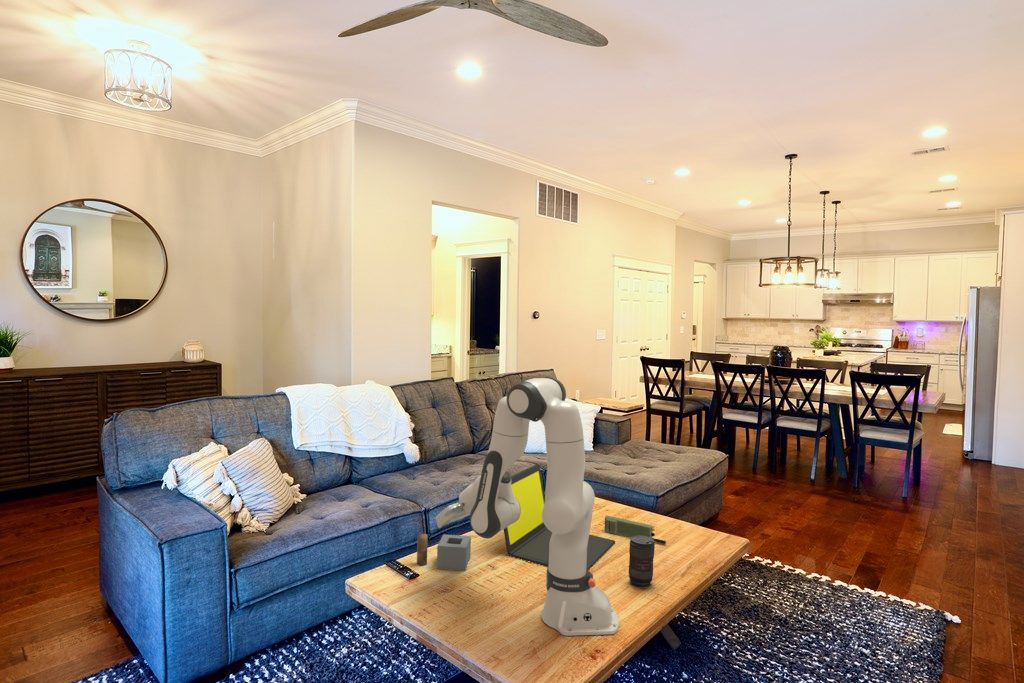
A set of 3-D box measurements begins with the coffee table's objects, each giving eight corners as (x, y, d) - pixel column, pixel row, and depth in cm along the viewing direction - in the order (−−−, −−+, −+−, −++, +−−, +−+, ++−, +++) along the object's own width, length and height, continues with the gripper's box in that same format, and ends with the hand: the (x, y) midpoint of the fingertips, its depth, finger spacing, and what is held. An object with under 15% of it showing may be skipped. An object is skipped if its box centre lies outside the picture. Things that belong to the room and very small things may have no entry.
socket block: (470, 558, 203) (470, 536, 203) (465, 570, 193) (466, 547, 193) (442, 556, 204) (443, 534, 204) (436, 568, 194) (437, 545, 194)
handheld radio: (606, 530, 234) (666, 544, 221) (603, 533, 231) (664, 547, 219) (607, 514, 234) (667, 527, 221) (604, 517, 231) (665, 530, 218)
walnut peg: (428, 561, 199) (428, 534, 199) (425, 566, 196) (426, 537, 195) (418, 561, 200) (418, 533, 199) (415, 565, 196) (416, 537, 196)
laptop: (581, 578, 192) (584, 502, 190) (494, 553, 209) (496, 483, 207) (615, 544, 220) (617, 477, 219) (535, 524, 238) (537, 463, 236)
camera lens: (657, 583, 188) (659, 539, 188) (644, 591, 182) (647, 546, 182) (636, 575, 194) (637, 532, 193) (623, 583, 188) (625, 539, 187)
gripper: (456, 517, 174) (431, 539, 181) (496, 501, 191) (472, 521, 197) (446, 499, 177) (422, 522, 183) (486, 485, 193) (463, 506, 200)
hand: (448, 521), depth 190 cm, fingers open, 8 cm apart
